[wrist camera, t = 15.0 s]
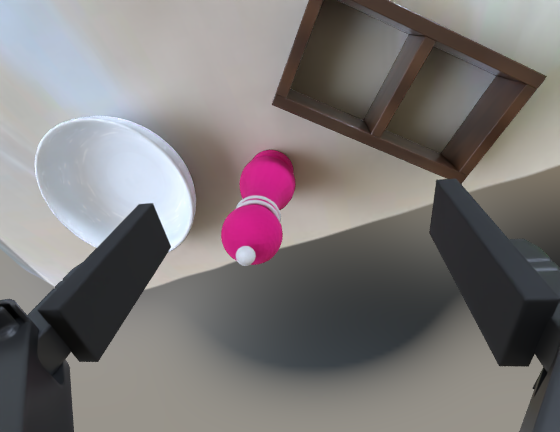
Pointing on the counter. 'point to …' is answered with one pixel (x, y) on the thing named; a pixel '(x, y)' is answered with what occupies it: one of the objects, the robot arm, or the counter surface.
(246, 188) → the pepper mill
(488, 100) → the caddy
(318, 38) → the counter surface
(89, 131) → the serving bowl
